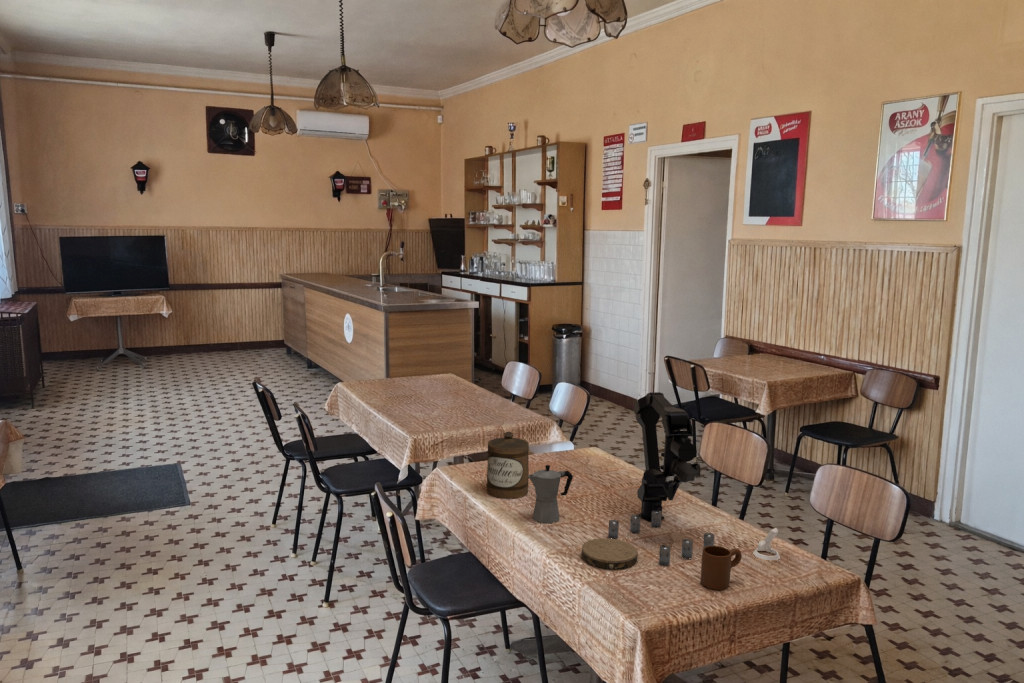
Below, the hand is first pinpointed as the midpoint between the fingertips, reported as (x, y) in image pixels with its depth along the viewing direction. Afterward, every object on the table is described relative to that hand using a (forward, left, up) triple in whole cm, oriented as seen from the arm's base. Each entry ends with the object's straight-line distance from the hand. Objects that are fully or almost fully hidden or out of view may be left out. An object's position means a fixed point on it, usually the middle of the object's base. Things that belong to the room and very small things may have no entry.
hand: (670, 499), depth 234 cm
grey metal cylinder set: (+3, -7, -12) cm, 14 cm away
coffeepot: (-30, -24, -12) cm, 40 cm away
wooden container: (-58, -22, -12) cm, 63 cm away
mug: (+31, -11, -12) cm, 35 cm away
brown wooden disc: (+3, -27, -12) cm, 30 cm away
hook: (+26, +14, -12) cm, 32 cm away
